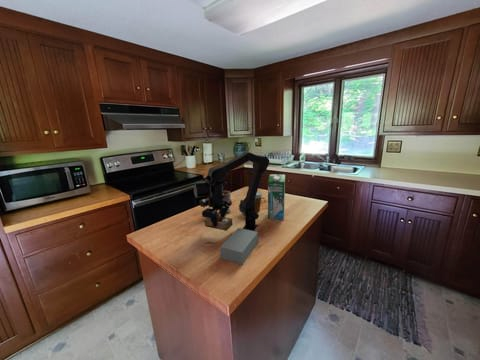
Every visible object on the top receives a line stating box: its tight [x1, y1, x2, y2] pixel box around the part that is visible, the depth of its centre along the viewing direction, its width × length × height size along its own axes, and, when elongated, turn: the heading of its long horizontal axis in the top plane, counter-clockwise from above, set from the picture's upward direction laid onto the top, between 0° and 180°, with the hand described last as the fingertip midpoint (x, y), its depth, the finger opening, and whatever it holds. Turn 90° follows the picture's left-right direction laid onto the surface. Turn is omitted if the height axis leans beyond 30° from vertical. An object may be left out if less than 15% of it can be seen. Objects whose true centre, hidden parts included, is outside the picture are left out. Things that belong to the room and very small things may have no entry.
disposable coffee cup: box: [255, 190, 263, 214], centre depth 131 cm, size 10×10×12 cm
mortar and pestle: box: [218, 190, 232, 215], centre depth 129 cm, size 12×9×20 cm
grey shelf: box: [219, 227, 259, 266], centre depth 90 cm, size 17×10×6 cm, turn 155°
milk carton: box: [267, 173, 286, 221], centre depth 121 cm, size 9×9×25 cm
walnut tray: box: [204, 215, 233, 232], centre depth 102 cm, size 12×6×4 cm, turn 65°
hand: (218, 223), depth 102 cm, fingers closed on walnut tray, 6 cm apart
